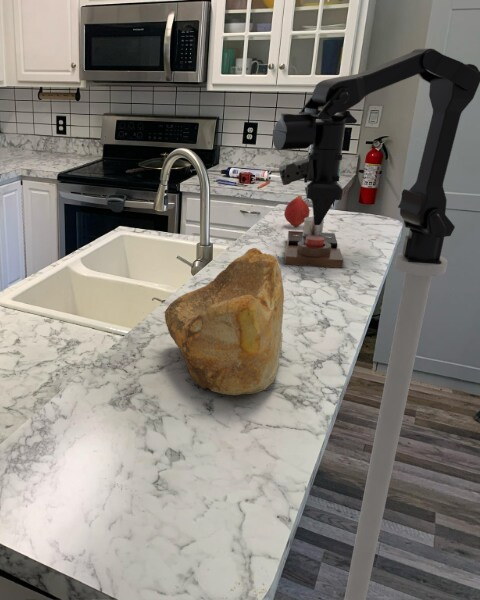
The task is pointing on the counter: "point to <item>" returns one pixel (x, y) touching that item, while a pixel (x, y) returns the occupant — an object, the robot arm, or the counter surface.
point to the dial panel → (298, 235)
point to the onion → (296, 211)
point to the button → (314, 241)
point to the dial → (312, 227)
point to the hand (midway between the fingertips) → (316, 224)
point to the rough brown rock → (232, 326)
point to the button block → (313, 255)
